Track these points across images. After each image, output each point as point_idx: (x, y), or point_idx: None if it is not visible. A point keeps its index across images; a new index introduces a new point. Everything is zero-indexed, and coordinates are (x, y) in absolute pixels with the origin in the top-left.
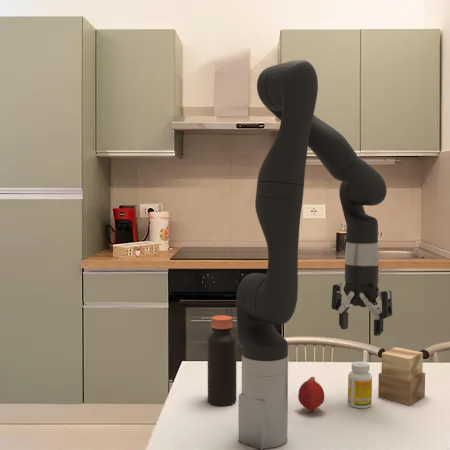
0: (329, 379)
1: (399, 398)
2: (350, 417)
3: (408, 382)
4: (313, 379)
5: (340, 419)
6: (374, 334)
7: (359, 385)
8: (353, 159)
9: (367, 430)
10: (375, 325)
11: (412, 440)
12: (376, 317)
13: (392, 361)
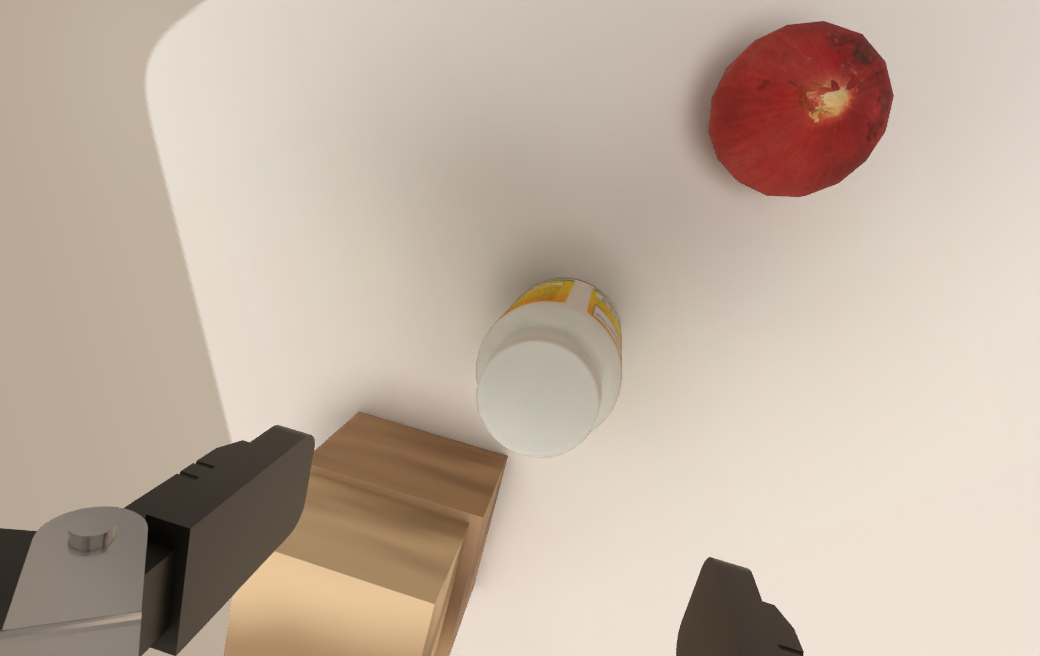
0: (796, 603)
1: (399, 435)
2: (559, 150)
3: (316, 460)
4: (813, 88)
5: (597, 99)
6: (300, 432)
7: (535, 297)
8: None
9: (445, 33)
10: (222, 479)
11: (250, 31)
12: (104, 522)
13: (373, 552)
